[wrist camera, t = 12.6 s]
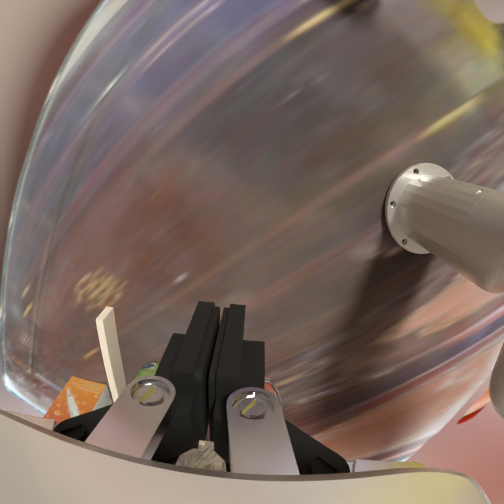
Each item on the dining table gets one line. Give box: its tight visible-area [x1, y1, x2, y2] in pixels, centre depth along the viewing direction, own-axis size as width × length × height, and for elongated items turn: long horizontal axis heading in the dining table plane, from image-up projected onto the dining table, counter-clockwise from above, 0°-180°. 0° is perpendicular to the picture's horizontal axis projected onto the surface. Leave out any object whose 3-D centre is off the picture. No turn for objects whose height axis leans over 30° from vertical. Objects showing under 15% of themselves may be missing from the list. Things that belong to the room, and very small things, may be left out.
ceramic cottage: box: [181, 441, 225, 472], centre depth 49 cm, size 16×16×15 cm
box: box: [96, 307, 206, 446], centre depth 43 cm, size 16×20×8 cm
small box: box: [43, 376, 112, 424], centre depth 43 cm, size 8×6×13 cm
